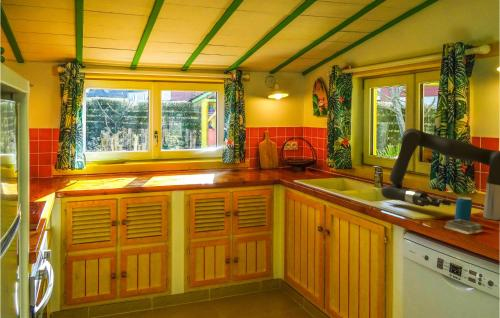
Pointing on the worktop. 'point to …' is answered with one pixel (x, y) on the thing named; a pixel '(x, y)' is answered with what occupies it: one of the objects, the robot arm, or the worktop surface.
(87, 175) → the worktop surface
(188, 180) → the worktop surface
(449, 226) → the grey square tray
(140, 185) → the worktop surface
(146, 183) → the worktop surface
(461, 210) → the beverage can
